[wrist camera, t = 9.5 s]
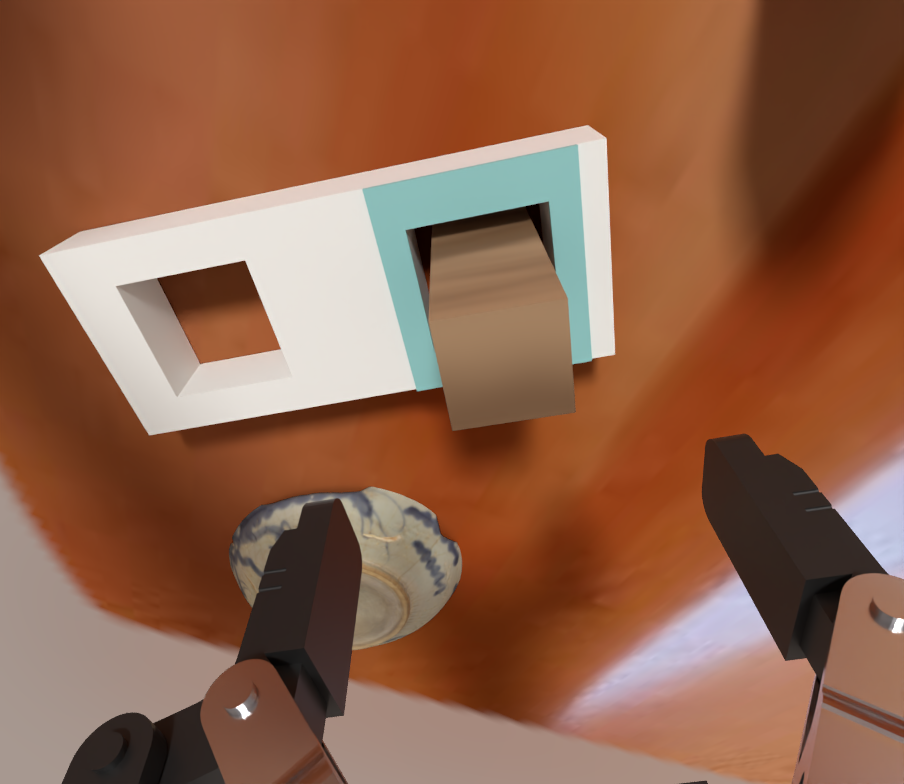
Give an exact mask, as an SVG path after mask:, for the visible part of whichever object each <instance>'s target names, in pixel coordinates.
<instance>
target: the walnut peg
mask: <svg viewBox="0 0 904 784" xmlns="http://www.w3.org/2000/svg"><path fill="white" fill-rule="evenodd" d="M429 326H430V331H431V335H432V340H433V344H434V349H435V353H436V358H437V363H438V367H439V372H440V376H441V381H442V385H443V390H444V394H445V399H446V404H447V408H448V413H449V417H450V422H451V426H452V431H456V430H463V429H469V428H476V427H483V426H489V425H496V424H502V423H509V422H515V421H522V420H529V419H535V418H542V417H548V416H555V415H562V414H568V413H575V412H576V410H575V395H574V381H573V366H572V351H571V337H570V322H569V307H568V297H567V295H566V293H565V291H564V289H563V287H562V285H561V282H560V280H559V278H558V276H557V274H556V272H555V270H554V267H553V265H552V263H551V261H550V259H549V257H548V255H547V252H546V250H545V248H544V246H543V244H542V242H541V240H540V237H539V235H538V233H537V231H536V229H535V227H534V225H533V222H532V220H531V218H530V216H529V214H528V212H527V210H526V207H525V206H523V207H518V208H513V209H508V210H503V211H498V212H493V213H488V214H483V215H478V216H473V217H468V218H463V219H458V220H453V221H448V222H443V223H438V224H433V225H432V239H431V267H430V295H429Z"/></svg>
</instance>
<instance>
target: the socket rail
mask: <svg viewBox="0 0 904 784" xmlns="http://www.w3.org/2000/svg"><path fill="white" fill-rule="evenodd" d="M538 203H539V208H540V217H541V227H542V236H543V246H544V248H545V250H546V252H547V255H548V257H549V259H550V261H551V263H552V265H553V267H554V270H555V272H556V274H557V276H558V278H559V280H560V282H561V285H562V287H563V289H564V291H565V293H566V295H567V297H568V307H569V322H570V337H571V351H572V364H577V363H583V362H589V361H592V358H598V357H604V356H609V355H615V342H614V317H613V292H612V267H611V242H610V217H609V191H608V166H607V141H606V137H604V136H603V135H601V134H600V133H598V132H597V131H595V130H594V129H593V128H591V127H590V126H588V125H587V126H582V127H577V128H572V129H568V130H563V131H558V132H553V133H548V134H544V135H539V136H534V137H529V138H525V139H520V140H515V141H510V142H506V143H501V144H496V145H491V146H486V147H482V148H477V149H472V150H467V151H463V152H458V153H453V154H448V155H444V156H439V157H434V158H429V159H425V160H420V161H415V162H410V163H405V164H401V165H396V166H391V167H386V168H382V169H377V170H372V171H367V172H363V173H358V174H353V175H348V176H343V177H339V178H334V179H329V180H324V181H320V182H315V183H310V184H305V185H301V186H296V187H291V188H286V189H281V190H277V191H272V192H267V193H262V194H258V195H253V196H248V197H243V198H239V199H234V200H229V201H224V202H220V203H215V204H210V205H205V206H200V207H196V208H191V209H186V210H181V211H177V212H172V213H167V214H162V215H158V216H153V217H148V218H143V219H138V220H134V221H129V222H124V223H119V224H115V225H110V226H105V227H100V228H96V229H91V230H86V231H81V232H79V233H77V234H75V235H73V236H72V237H70V238H68V239H67V240H65V241H63V242H61V243H60V244H58V245H56V246H55V247H53V248H51V249H49V250H48V251H46V252H44V253H43V254H41V255H39V256H40V258H41V260H42V261H43V263H44V265H45V266H46V268H47V269H48V271H49V273H50V274H51V276H52V278H53V279H54V281H55V283H56V284H57V286H58V287H59V289H60V291H61V292H62V294H63V296H64V297H65V299H66V300H67V302H68V304H69V305H70V307H71V309H72V310H73V312H74V313H75V315H76V317H77V318H78V320H79V322H80V323H81V325H82V327H83V328H84V330H85V331H86V333H87V335H88V336H89V338H90V340H91V341H92V343H93V344H94V346H95V348H96V349H97V351H98V353H99V354H100V356H101V358H102V359H103V361H104V362H105V364H106V366H107V367H108V369H109V371H110V372H111V374H112V375H113V377H114V379H115V380H116V382H117V384H118V385H119V387H120V388H121V390H122V392H123V393H124V395H125V397H126V398H127V400H128V402H129V403H130V405H131V406H132V408H133V410H134V411H135V413H136V415H137V416H138V418H139V419H140V421H141V423H142V424H143V426H144V428H145V429H146V431H147V433H148V434H149V435H155V434H160V433H166V432H172V431H178V430H183V429H189V428H195V427H201V426H206V425H212V424H218V423H224V422H229V421H235V420H241V419H247V418H252V417H258V416H264V415H270V414H275V413H281V412H287V411H293V410H299V409H304V408H310V407H316V406H322V405H327V404H333V403H339V402H345V401H350V400H356V399H362V398H368V397H373V396H379V395H385V394H391V393H396V392H402V391H408V390H414V389H417V391H422V390H427V389H433V388H439V387H443V385H442V381H441V376H440V372H439V367H438V363H437V358H436V353H435V349H434V344H433V340H432V335H431V331H430V326H429V291H428V287H427V282H426V278H425V274H424V270H423V265H422V261H421V257H420V252H419V248H418V244H417V239H416V235H415V231H414V228H418V227H423V226H428V225H433V224H438V223H443V222H448V221H453V220H458V219H463V218H468V217H473V216H478V215H483V214H488V213H493V212H498V211H503V210H508V209H513V208H518V207H523V206H528V205H533V204H538ZM240 261H246V264H247V266H248V269H249V271H250V274H251V276H252V278H253V281H254V283H255V286H256V288H257V291H258V293H259V296H260V298H261V301H262V303H263V305H264V308H265V310H266V313H267V315H268V318H269V320H270V323H271V325H272V327H273V330H274V332H275V335H276V337H277V340H278V342H279V345H280V347H281V349H280V350H275V351H269V352H264V353H259V354H253V355H248V356H242V357H237V358H231V359H226V360H220V361H215V362H210V363H204V364H200V363H199V361H198V359H197V357H196V355H195V353H194V351H193V349H192V347H191V345H190V343H189V341H188V339H187V337H186V335H185V333H184V331H183V329H182V327H181V325H180V323H179V321H178V319H177V317H176V315H175V313H174V311H173V309H172V307H171V305H170V303H169V301H168V299H167V297H166V295H165V293H164V292H163V290H162V288H161V286H160V284H159V282H158V280H157V278H159V277H164V276H169V275H174V274H179V273H184V272H189V271H194V270H199V269H204V268H209V267H214V266H219V265H224V264H230V263H235V262H240Z"/></svg>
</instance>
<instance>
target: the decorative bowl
mask: <svg viewBox="0 0 904 784" xmlns="http://www.w3.org/2000/svg"><path fill="white" fill-rule="evenodd" d="M334 498H339V499H340V500H341V502H342V503H343V506H344V508H345V510H346V513H347V515H348V518H349V520H350V522H351V525H352V527H353V530H354V532H355V534H356V537H357V539H358V542H359V545H360V549H361V554H362V575H361V583H360V591H359V599H358V607H357V615H356V623H355V631H354V638H353V646H352V650H359V649H365V648H369V647H372V646H377V645H382V644H385V643H389V642H392V641H395V640H397V639H400V638H402V637H404V636H406V635H408V634H410V633H412V632H414V631H416V630H417V629H419V628H420V627H422V626H423V625H425V624H426V623H427V622H428V621H430V620H431V619H432V618H433V617H434V616H435V615H436V614H437V613H438V612H439V611H440V610H441V609H442V607H443V606H444V605H445V604H446V602H447V601H448V600H449V598H450V597H451V595H452V594H453V593H454V591H455V589H456V587H457V585H458V583H459V580H460V577H461V571H462V558H461V552H460V549H459V546H458V545H457V542H454V541H452V540H450V539H447V538H446V537H443V536H442V535H441V533H440V529H439V524H438V521H437V517H436V515H435V514H434V513H433V512H432V511H431V510H429V509H428V508H426V507H425V506H423V505H422V504H420V503H418V502H416V501H414V500H412V499H410V498H407V497H405V496H403V495H400V494H397V493H394V492H391V491H388V490H384V489H380V488H375V487H368V488H366V489H364V490H362V491H358V492H344V493H313V494H308V495H300V496H296V497H291V498H288V499H285V500H282V501H279V502H276V503H271V504H267V505H261V506H259V507H258V508H256V509H255V510H254V511H252V512H251V513H250V514H249V515H248V516H247V517H246V518H245V519H244V520H243V521H242V522H241V523H240V525H239V526H238V528H237V529H236V531H235V533H234V535H233V537H232V539H233V543H231V545H230V548H229V558H230V565H231V568H232V571H233V574H234V576H235V578H236V581H237V583H238V585H239V587H240V589H241V591H242V593H243V595H244V597H245V598H246V600H247V602H248V603H249V604H250V606H251V607H252V608H253V604H254V601H255V598H256V594H257V593H259V589H258V588H259V585H260V581H261V578H262V575H264V568H265V565H266V561H267V558H268V555H269V552H270V549H271V548H272V547H273V545H274V544H275V543H276V541H277V540H278V538H279V537H280V536H281V534H282V533H283V532H284V530H289V529H296V528H297V526H298V522H299V518H300V515H301V511H302V508H303V506H304V504H305V503H310V502H316V501H322V500H328V499H334Z"/></svg>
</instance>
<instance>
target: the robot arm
mask: <svg viewBox="0 0 904 784" xmlns="http://www.w3.org/2000/svg"><path fill="white" fill-rule="evenodd" d="M702 499H703V504H704V508H705V512H706V514H707V517H708V519H709V521H710V523H711V525H712V527H713V529H714V530H715V532H716V534H717V536H718V538H719V540H720V541H721V543H722V545H723V547H724V549H725V551H726V552H727V554H728V556H729V558H730V560H731V562H732V563H733V565H734V567H735V569H736V571H737V573H738V574H739V576H740V578H741V580H742V582H743V584H744V585H745V587H746V589H747V591H748V593H749V595H750V597H751V598H752V600H753V602H754V604H755V606H756V608H757V609H758V611H759V613H760V615H761V617H762V619H763V620H764V622H765V624H766V626H767V628H768V630H769V631H770V633H771V635H772V637H773V639H774V641H775V642H776V644H777V646H778V648H779V650H780V652H781V653H782V655H783V657H784V659H785V661H787V660H795V659H803V658H807V659H808V661H809V663H810V665H811V666H812V668H813V670H814V671H815V673H816V675H815V678H814V682H813V686H812V691H811V696H810V701H809V705H808V710H807V715H806V720H805V724H804V729H803V734H802V739H801V743H800V748H799V753H798V758H797V762H796V767H795V772H794V776H793V780H792V784H904V579H901V578H898V577H895V576H891V575H889V574H888V573H887V572H886V571H885V570H884V569H883V568H882V567H881V565H880V564H879V563H878V562H877V560H876V559H875V558H874V557H873V556H872V554H871V553H870V552H869V551H868V549H867V548H866V547H865V546H864V544H863V543H862V542H861V541H860V539H859V538H858V537H857V536H856V535H855V533H854V532H853V531H852V530H851V528H850V527H849V526H848V525H847V523H846V522H845V521H844V520H843V518H842V517H841V516H840V515H839V514H838V512H837V511H836V510H835V509H832V507H831V504H830V502H829V501H828V500H827V499H826V497H825V496H824V495H823V494H822V493H819V491H818V488H817V486H816V485H815V484H814V483H813V481H812V480H811V479H810V478H809V477H808V475H807V474H806V473H805V472H804V470H803V469H802V468H800V467H798V466H797V465H795V464H794V463H792V462H791V461H789V460H787V459H786V458H784V457H783V456H781V455H779V454H774V455H767V456H764V454H763V453H762V452H761V450H760V449H759V448H758V446H757V445H756V444H755V442H754V441H753V440H752V438H751V437H750V436H749V435H747V434H739V435H733V436H727V437H721V438H715V439H709V440H708V441H707V442H706V446H705V457H704V470H703V483H702ZM361 575H362V554H361V549H360V545H359V542H358V539H357V537H356V534H355V532H354V530H353V527H352V525H351V522H350V520H349V518H348V515H347V513H346V510H345V508H344V506H343V503H342V502H341V500H340V499H339V498H334V499H328V500H322V501H316V502H310V503H305V504H304V506H303V508H302V511H301V515H300V518H299V522H298V526H297V528H296V529H289V530H284V532H283V533H282V534H281V536H280V537H279V538H278V540H277V541H276V543H275V544H274V545H273V547H272V548H271V549H270V552H269V555H268V558H267V561H266V565H265V568H264V575H262V578H261V581H260V585H259V588H258V589H259V593H257V594H256V598H255V601H254V604H253V608H252V611H251V614H250V618H249V621H248V624H247V628H246V631H245V634H244V637H243V641H242V644H241V647H240V651H239V654H238V657H237V660H236V662H235V665H233V666H232V667H230V668H228V669H227V670H226V671H225V672H224V673H222V674H221V675H220V676H219V677H218V678H217V679H216V680H215V681H214V683H213V684H212V685H211V686H210V688H209V690H208V691H207V693H206V695H205V698H204V699H203V700H201V701H200V702H198V703H196V704H194V705H192V706H190V707H188V708H186V709H183V710H181V711H179V712H177V713H175V714H173V715H170V716H168V717H166V718H164V719H162V720H160V721H158V722H155V723H152V722H151V721H150V720H149V719H148V718H147V717H146V716H144V715H142V714H139V713H126V714H122V715H119V716H116V717H114V718H112V719H110V720H109V721H107V722H105V723H104V724H102V725H101V726H100V727H98V728H97V729H96V730H95V731H94V732H93V733H92V734H91V735H90V736H89V737H88V738H87V739H86V740H85V741H84V743H83V744H82V745H81V746H80V748H79V749H78V751H77V752H76V754H75V755H74V757H73V760H72V761H71V763H70V766H69V768H68V770H67V773H66V775H65V777H64V780H63V782H62V784H348V783H347V781H346V779H345V777H344V776H343V774H342V772H341V771H340V769H339V767H338V766H337V764H336V762H335V760H334V759H333V757H332V755H331V754H330V752H329V750H328V748H327V747H326V745H325V743H324V742H323V740H322V739H323V733H324V726H325V719H326V718H328V717H335V716H343V715H344V710H345V701H346V693H347V686H348V678H349V670H350V662H351V654H352V646H353V638H354V631H355V623H356V615H357V607H358V599H359V591H360V583H361ZM681 784H708V783H707V781H699V782H690V783H681Z"/></svg>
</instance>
